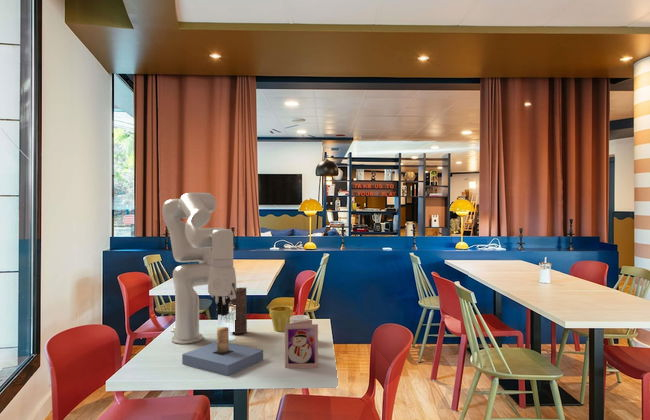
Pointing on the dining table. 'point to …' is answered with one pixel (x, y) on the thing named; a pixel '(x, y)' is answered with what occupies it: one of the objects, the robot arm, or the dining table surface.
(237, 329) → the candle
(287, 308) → the plant pot
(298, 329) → the greeting card
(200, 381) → the dining table surface
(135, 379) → the dining table surface
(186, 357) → the board
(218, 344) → the leg peg
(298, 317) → the white cup
